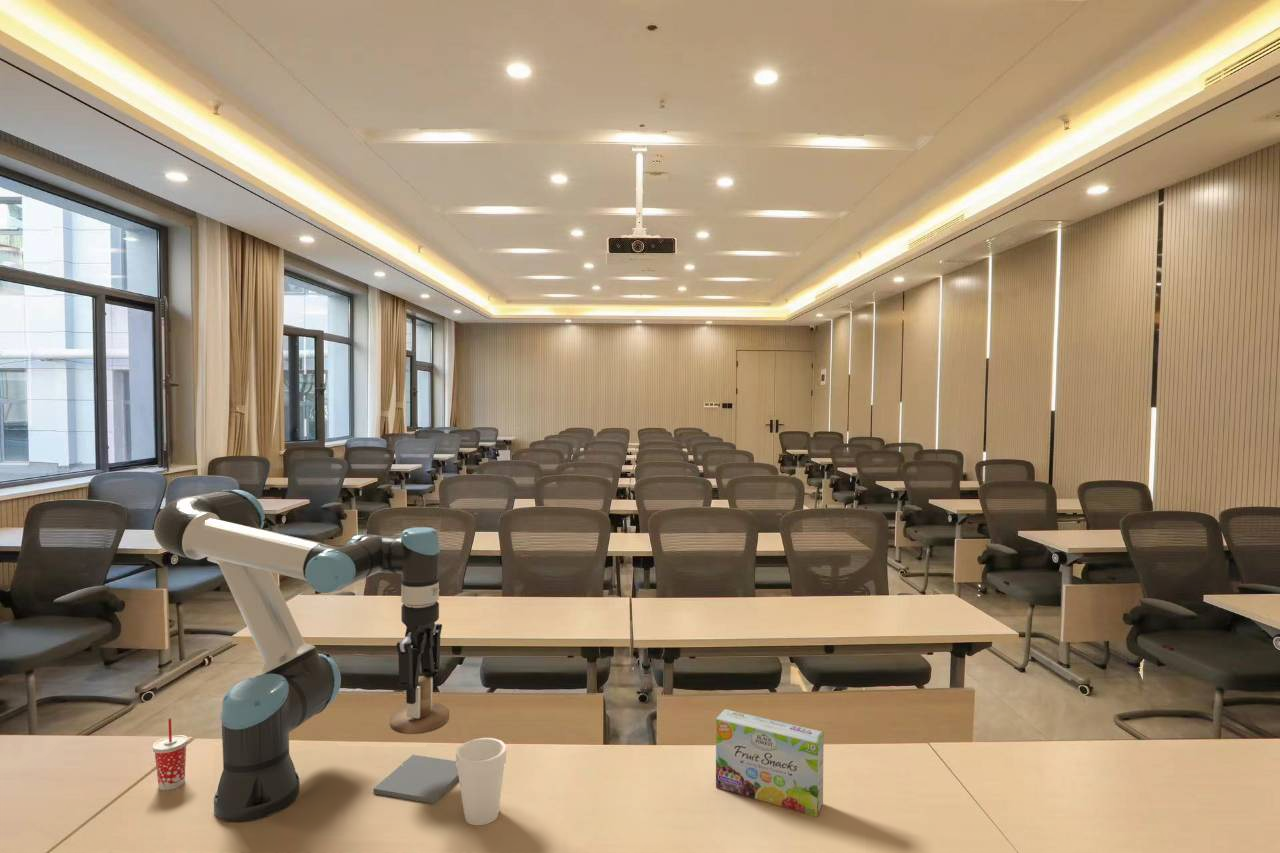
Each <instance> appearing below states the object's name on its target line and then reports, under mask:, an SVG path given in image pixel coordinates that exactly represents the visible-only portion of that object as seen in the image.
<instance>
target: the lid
mask: <svg viewBox="0 0 1280 853" xmlns="http://www.w3.org/2000/svg"><path fill="white" fill-rule="evenodd" d="M418 686H420V718H418V719H417V718H411V717H407V704H406V705H404V706H402V707H398V709H395V710H394V711H393V712H392V713H391V714H390V716H389V727H390V729H391V730H393V732H396V733H400V734H404V735H420V734H426V733H431V732H433V731H437V730H439V729H441V728H443V727H444V726H445V725H447V724H448V723H449V720H450V709H449V708H448V707H447V706H446V705H445V704H442V703H439V702H433V707H432V708H431V709H430V678H429V677H427V676H424V675H419V679H418Z"/></svg>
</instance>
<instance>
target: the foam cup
mask: <svg viewBox="0 0 1280 853" xmlns="http://www.w3.org/2000/svg"><path fill="white" fill-rule="evenodd" d="M455 761H456V767H457V769H458V776H459V779H458V781H459V787H460V788H459V789H460V795H461V802H462V807H463V809H462V810H463V816H464V820H465V821H466V823H468V824H470V825H472V826H485V825H488V824H490V823H492V822H494V821H495V820H496V819H497V818H498V817H499V813H500V812H499V810H500V803H501V801H500V800H501V794H502V793H501V792H502V786H503V777H504V771H505V770H504V768H505V764H506V761H507V745H506V744H505V743H504V741H503V740H500V739H497V738H495V737H480V738H474V739H471V740H468V741H466V742H463V743H462V744H460V746H458V747H457V748H456V752H455Z"/></svg>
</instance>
